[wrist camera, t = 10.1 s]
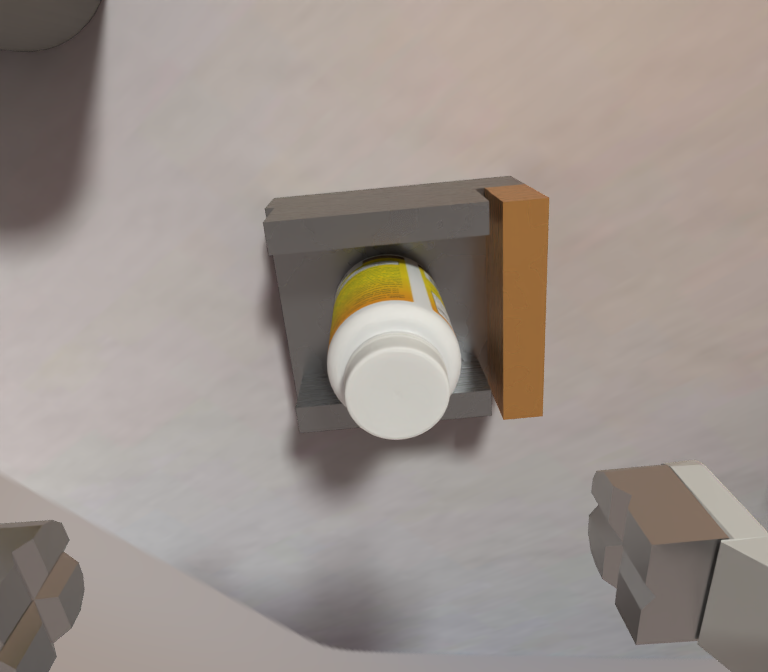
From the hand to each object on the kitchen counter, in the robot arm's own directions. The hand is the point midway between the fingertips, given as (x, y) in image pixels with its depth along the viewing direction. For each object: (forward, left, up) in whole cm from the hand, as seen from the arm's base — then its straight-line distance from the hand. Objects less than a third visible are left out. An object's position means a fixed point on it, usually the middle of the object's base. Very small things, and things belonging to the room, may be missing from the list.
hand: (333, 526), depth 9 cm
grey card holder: (+2, -4, -24) cm, 25 cm away
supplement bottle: (+1, -4, -22) cm, 22 cm away
